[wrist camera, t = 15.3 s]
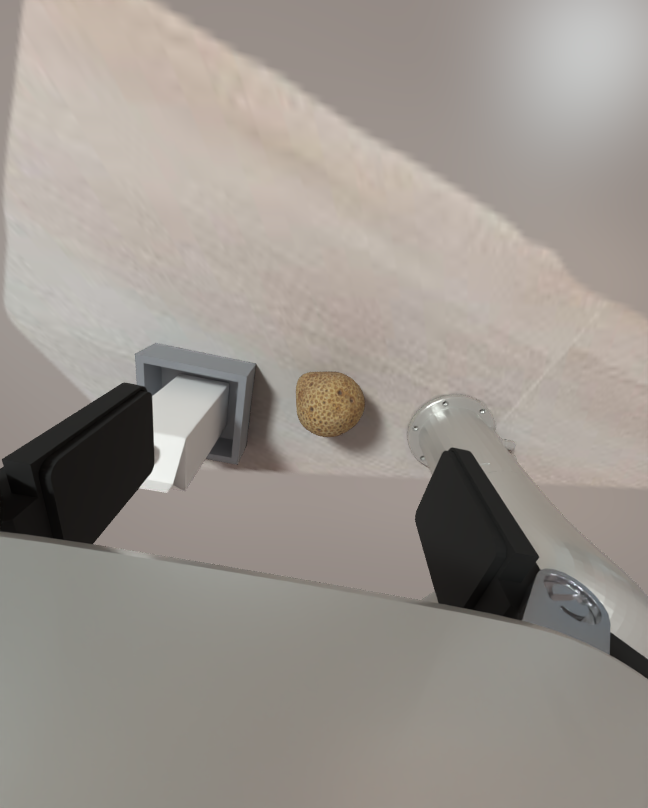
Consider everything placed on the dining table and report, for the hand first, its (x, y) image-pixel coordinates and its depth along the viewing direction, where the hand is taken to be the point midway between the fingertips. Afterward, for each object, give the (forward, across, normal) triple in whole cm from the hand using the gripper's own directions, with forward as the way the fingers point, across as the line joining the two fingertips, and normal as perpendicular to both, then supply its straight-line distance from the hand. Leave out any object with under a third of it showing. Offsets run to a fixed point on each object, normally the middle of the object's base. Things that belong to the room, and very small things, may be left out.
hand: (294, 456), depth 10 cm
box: (+34, +15, +18) cm, 41 cm away
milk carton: (+34, +15, +18) cm, 41 cm away
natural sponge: (+34, -3, +12) cm, 37 cm away
